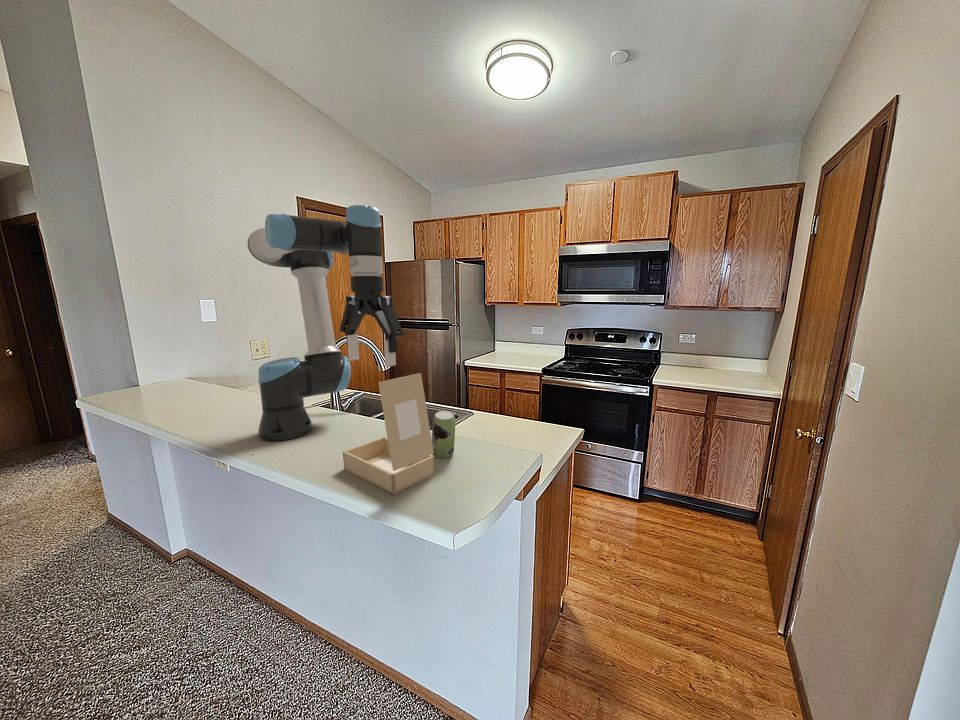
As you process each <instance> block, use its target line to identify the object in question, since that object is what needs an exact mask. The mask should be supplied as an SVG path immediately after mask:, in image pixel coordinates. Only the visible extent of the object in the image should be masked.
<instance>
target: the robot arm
mask: <svg viewBox="0 0 960 720" xmlns="http://www.w3.org/2000/svg"><path fill="white" fill-rule="evenodd" d="M345 211H346V212H345V213H346V215H345V220H337V219H336V220H335V219H326V218H325V219H324V218H316V217H306V216H305V217H304V216H298V215H297V216H296V215H291V214H290V215H288V214H286V213H279V214H277V213H270V214H267V216H266V217H265V221H264V227H263V228H258V229H255V230H254V231H253V232H252V233H250V235H249V236H248V238H247V249H248V251H249V253H250V254H251V255H252V257H253V258H254V259H256V260H257V261H259V262H260V263H263V264H265V265H268V266H271V267H277V268H290V272H291V273H290V274H291V275H292V276H293V277H295V278H296V279H297V285H298V291H299V292H298V293H299V297H300V298H299V299H300V304H301V309H302V310H301V311H302V317H303V323H304V331H305V336H306V337H305V339H306V343H307V352H305V354H304V356H303V358H304V360H303V361H302V360H301V359H300V358H299V357H293V356H292V357H284V358H279V359H274V360H271V361H268V362H265V363H263V364H262V365H260V366H259V368H258V380H257V381H258V384H259V392H260V400H261V407H262V413H261V418H260V422H259V425H258V430H257V431H258V438H259V439H260V438H261V439H262V440H261V439H260V440H261V441H265V440H267V441H266V442H279V441H280V442H281V441H287V440H293V439H296V438H300V437H303V436H305V435H307V434H309V433H310V432H311V431H312V429H313V423H312V420H311V417H310V415H309V414H308V412H307V410H306V408H305V402H304V398H309V397H315V396H321V395H326V394H327V395H328V394H335V393H337V392H342V391H344V390H346V389H347V387H348V386H349V383H350V380H351V372H352V371H351V363H350V362H351V361H352V362H353V361H358V360H360V347H359V334H358V331H357V330H358V328H359V326H360V325H361V323H362V321H363V319H364V317H365V316H372V317H373V318H374V319H375V321H376V322H377V325H379V328H380V329H381V331H382V332H383V334H384V336H385V338H384V339H383V344H384V345H383V348H384V365H385V367H386V368H389V367H394V366H397V356H396V353H397V352H398V351H397V350H398V349H397V348H398V346H397V345H398V344H397V343H398V342H397V339H398V338H399V337H402V336H404V332H403V330H402V327H401V324H400V321H399V319H398V315H397V313H396V311H395V309H394V306H393V300H392V296H391V295H382V293H383V292H384V290H385V289H384V286H385V285H384V277H383V276H381V275H383V274H384V267H383V266H384V265H383V250H382V224H381V217H380V214H381V213H380V211H379V209H378V208H376V207H375V206H371V205H364V204H353V205H350V206H347V208H346V210H345ZM334 253H338V254H344V255H345V254H346V255H348V256H349V272H350V274H352V276H350V291H351V292H352V293H354V295H346V297H345V308H344V311H343V314H342V319H341V323H340V326H339V331H340V332H341V333H344V335H345V336H346V345H347V346H346V347H347V354H348V357H347V356H345V355H343V353H342V351H341V349H339V348H338V347H337V346H336V339H335V332H334V327H333V321H332V314H331V307H330V302H329V301H330V300H329V294H328V287H327V281H326V277H327V275H328V274H330V273H329V272H330V269H332V268H333V266H334V259H333V258H334ZM308 432H309V433H308Z"/></svg>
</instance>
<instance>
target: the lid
mask: <svg viewBox="0 0 960 720" xmlns="http://www.w3.org/2000/svg"><path fill="white" fill-rule="evenodd" d="M378 388H379V394H380V399H381V407H382V412H383V419H384V424H385V425H384V426H385V430H386V438H388V444H389V450H390V456H391V462H392V468H393V471H395V470H397V469H400V468H402V467H404V466H406V465H409V464H411V463H413V462H415V461H418V460H420V459H422V458H424V457H427V456H429V455H434V454H433V453H434V452H433V445H432V432H431V427H430V421H429V416H428V408H427V402H426V396H425V395H426V394H425V391H424V384H423V378H422V373H421V372H420V373H419V372H418V373H414V374H409V375H404V376H401V377H400V376H399V377H396V378H392V379H387V380H382V381H378Z"/></svg>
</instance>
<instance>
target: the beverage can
mask: <svg viewBox="0 0 960 720" xmlns="http://www.w3.org/2000/svg"><path fill="white" fill-rule="evenodd" d="M456 423H457V421H456V417H455V414H454V413H453V412H451V411H448V410H440V411H436V413H435V414H434V416H433V418H432V425H431V427H432V429H431V439H432V445H433V452H434V453H433V454H432V455H433V456H435V457H437V458H442V459H444V458H449V457H450V456H452V455H453V454H454V452H455V439H456V438H455V436H456V435H455V434H456Z"/></svg>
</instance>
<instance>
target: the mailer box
mask: <svg viewBox="0 0 960 720" xmlns="http://www.w3.org/2000/svg"><path fill="white" fill-rule="evenodd" d="M342 459H343V469H344V470H345V471H347V472H349V473H351V474H353V475H355V476H356V477H359V478H360V479H362V480H365V481H366V482H367V483H370V484H372V485H374V486H375V487H377V488H379V489H381V490H383V491H385V492H387V493H389V494H390V495H393V496H395V495H397V494H399V493H401V492H403V491H405V490H406V489H409V488H410V487H413V486H415V485H417V484H419V483H421V482H423V481H424V480H426V479H428V478H430V477H433V476H435V475H436V456H435V455H434V454H431V455H429V456H427V457H424V458H422V459H420V460H418V461H415V462H413V463H411V464H409V465H406V466H404V467H402V468H400V469H397V470H395V471H393V468H392V462H391V456H390V450H389V444H388V438H387V436H383V437H380V438H378V439H377V438H376V439H374V440H372V441H369V442H365V443H363V444H360V445H358V446H357V445H356V446H354V447H352V448H349V449H346V450H343V451H342Z"/></svg>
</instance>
